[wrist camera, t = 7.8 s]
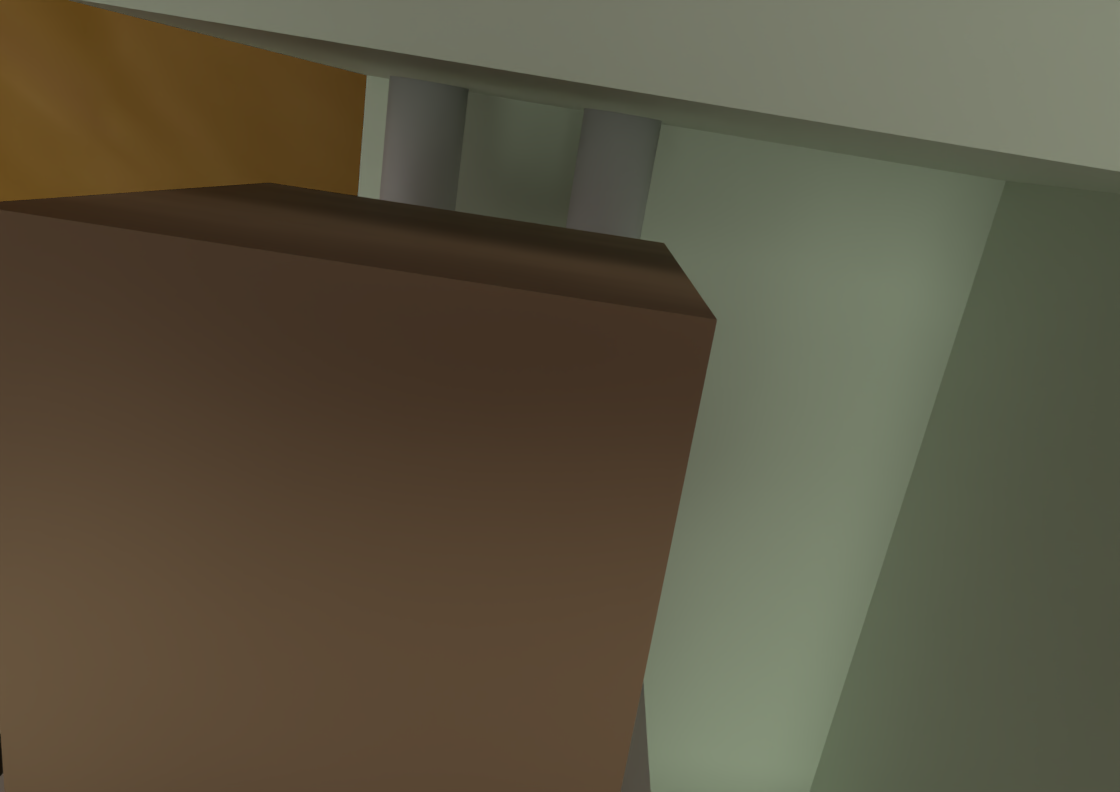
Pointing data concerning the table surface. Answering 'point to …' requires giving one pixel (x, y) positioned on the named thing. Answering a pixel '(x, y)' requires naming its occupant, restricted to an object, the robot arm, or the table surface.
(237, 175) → the table surface
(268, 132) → the table surface
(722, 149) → the open storage box
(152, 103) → the table surface
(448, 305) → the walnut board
